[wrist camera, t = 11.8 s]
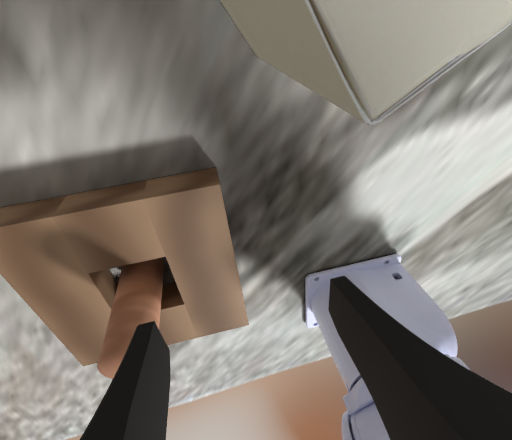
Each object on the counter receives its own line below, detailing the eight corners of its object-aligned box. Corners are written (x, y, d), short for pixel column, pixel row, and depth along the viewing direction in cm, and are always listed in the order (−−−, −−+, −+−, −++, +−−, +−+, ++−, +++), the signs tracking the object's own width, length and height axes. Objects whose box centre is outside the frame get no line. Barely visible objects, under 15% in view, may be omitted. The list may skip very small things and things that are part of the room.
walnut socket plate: (216, 167, 19) (220, 184, 17) (243, 302, 27) (248, 324, 25) (-11, 209, 18) (-36, 233, 16) (91, 339, 26) (83, 366, 24)
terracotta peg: (157, 247, 22) (145, 343, 15) (168, 275, 23) (162, 371, 17) (116, 256, 21) (87, 357, 15) (131, 283, 23) (110, 384, 17)
